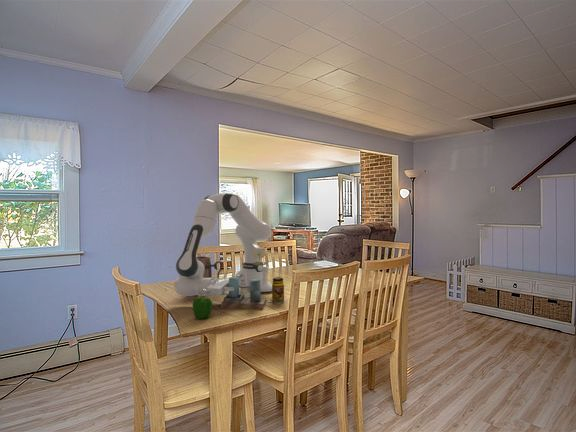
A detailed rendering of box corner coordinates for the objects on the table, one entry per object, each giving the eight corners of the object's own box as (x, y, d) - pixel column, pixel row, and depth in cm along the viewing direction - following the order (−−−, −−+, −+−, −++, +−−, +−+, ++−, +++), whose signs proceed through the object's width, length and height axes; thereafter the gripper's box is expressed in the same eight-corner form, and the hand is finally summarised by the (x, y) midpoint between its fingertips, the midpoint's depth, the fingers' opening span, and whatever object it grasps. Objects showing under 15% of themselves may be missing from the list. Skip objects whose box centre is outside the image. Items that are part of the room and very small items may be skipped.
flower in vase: (275, 289, 196) (275, 246, 196) (273, 294, 185) (272, 249, 185) (254, 288, 198) (253, 246, 197) (249, 293, 186) (249, 248, 186)
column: (226, 298, 162) (226, 278, 162) (234, 296, 166) (234, 276, 166) (233, 300, 159) (233, 279, 159) (241, 298, 163) (241, 277, 163)
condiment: (280, 304, 165) (280, 280, 165) (265, 301, 169) (265, 278, 169) (287, 300, 171) (287, 277, 171) (273, 298, 175) (273, 275, 175)
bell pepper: (204, 313, 150) (204, 291, 150) (215, 317, 145) (215, 294, 145) (188, 318, 144) (187, 295, 143) (199, 322, 138) (199, 298, 138)
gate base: (221, 308, 158) (221, 282, 158) (226, 302, 168) (226, 277, 168) (263, 309, 156) (263, 282, 156) (266, 303, 166) (266, 278, 166)
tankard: (182, 297, 179) (182, 260, 179) (187, 289, 196) (187, 255, 195) (227, 295, 182) (227, 259, 182) (228, 288, 199) (228, 255, 199)
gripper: (200, 285, 153) (230, 285, 152) (214, 276, 173) (240, 276, 172) (200, 298, 153) (230, 299, 152) (214, 288, 173) (240, 288, 172)
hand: (235, 287), depth 162 cm, fingers closed on column, 5 cm apart
